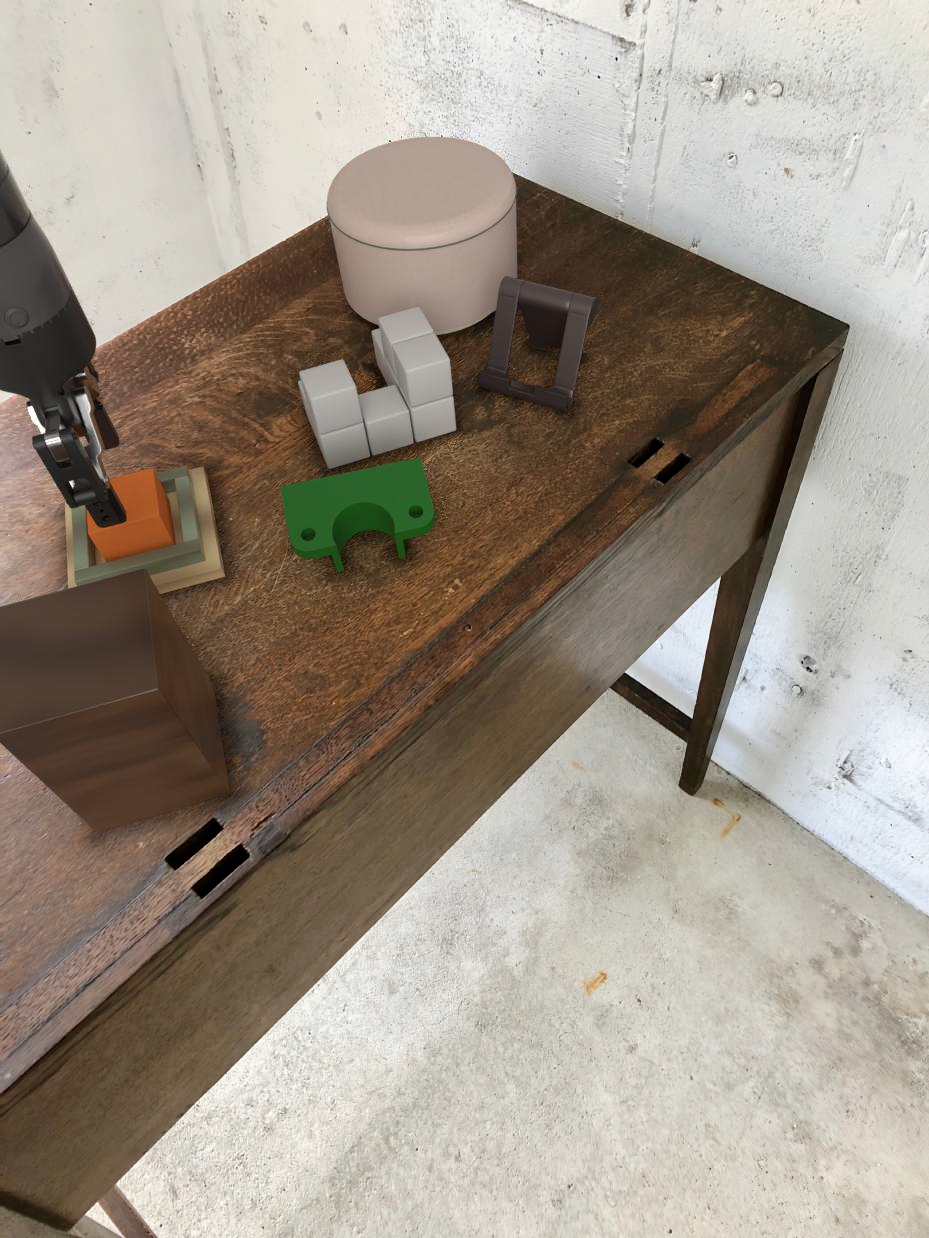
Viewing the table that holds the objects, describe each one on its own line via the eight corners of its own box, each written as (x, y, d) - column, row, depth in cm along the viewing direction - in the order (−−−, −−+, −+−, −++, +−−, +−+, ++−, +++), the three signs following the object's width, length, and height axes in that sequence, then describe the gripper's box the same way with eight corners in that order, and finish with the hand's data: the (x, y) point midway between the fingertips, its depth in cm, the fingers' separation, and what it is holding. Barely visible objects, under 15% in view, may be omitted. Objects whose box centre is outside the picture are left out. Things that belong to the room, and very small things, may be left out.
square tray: (225, 576, 70) (215, 555, 68) (75, 617, 69) (60, 596, 67) (207, 475, 77) (197, 453, 75) (70, 510, 76) (56, 488, 74)
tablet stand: (477, 391, 81) (472, 314, 74) (513, 341, 85) (511, 263, 78) (564, 417, 79) (567, 339, 72) (598, 364, 82) (604, 285, 76)
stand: (230, 794, 59) (158, 688, 48) (97, 833, 58) (-9, 735, 47) (214, 685, 64) (145, 567, 53) (91, 720, 63) (-6, 607, 52)
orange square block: (176, 548, 71) (159, 515, 68) (108, 566, 70) (87, 533, 67) (169, 501, 74) (153, 467, 71) (104, 518, 73) (84, 484, 70)
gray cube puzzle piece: (414, 353, 85) (405, 280, 79) (457, 431, 78) (450, 358, 72) (295, 387, 83) (275, 315, 77) (328, 470, 77) (309, 399, 70)
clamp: (335, 596, 74) (272, 563, 66) (323, 534, 76) (261, 495, 68) (462, 543, 70) (411, 502, 62) (445, 480, 73) (394, 432, 64)
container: (452, 221, 98) (443, 112, 88) (554, 295, 89) (556, 182, 79) (313, 285, 93) (288, 176, 83) (407, 370, 84) (391, 258, 74)
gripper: (-50, 250, 58) (59, 435, 71) (-62, 382, 49) (63, 564, 63) (65, 225, 59) (151, 413, 72) (72, 351, 50) (167, 536, 63)
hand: (110, 483), depth 67 cm, fingers open, 8 cm apart
